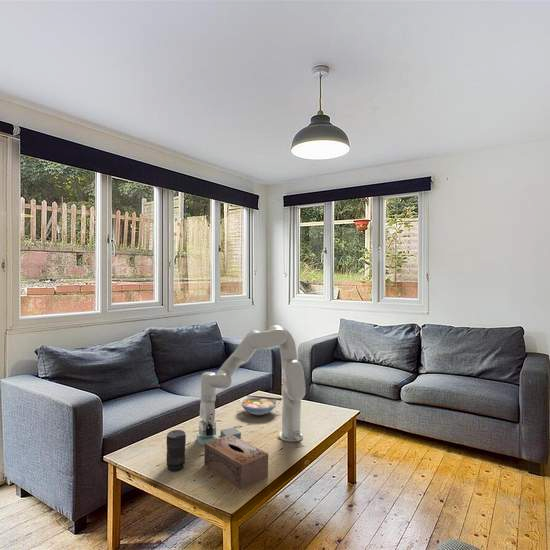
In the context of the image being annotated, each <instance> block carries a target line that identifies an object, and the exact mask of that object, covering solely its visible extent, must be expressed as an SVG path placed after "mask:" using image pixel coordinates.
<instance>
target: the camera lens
mask: <svg viewBox="0 0 550 550" xmlns="http://www.w3.org/2000/svg"><path fill="white" fill-rule="evenodd" d="M186 438H187V435H186V431H184V430H181V429H175V430H171V431H168V433H167V435H166V465H167V469H168V471H171V472H178V471H181V470H183V468H184V465H185V463H186V441H187V440H186Z"/></svg>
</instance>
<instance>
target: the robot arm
mask: <svg viewBox="0 0 550 550" xmlns="http://www.w3.org/2000/svg"><path fill="white" fill-rule="evenodd" d="M295 341H296V340H295V339H294V337H293V336H292V333H291V332H290V331H289V330H288V329H287V328H285V327H284V326H281V325H277V324H274V325H270V327H269V328H268V330H266V331H259V330H257V329H253V330H250V331H249V332H248V333H247V334H246V336H245V337H244V338H243V339H242V341H241V342H240V343H239V345H238V346H237V348H236V349H235V350H234V351H233V352H232V353H231V354H230V356H229V357H228V358H227V359H226V360H225V361H224V362H223V363H222V364H221V366H220V367H219V369H218V370H217V372H216V373H215V372H213V371H205V372H202V374H201V375H200V404H199V405H200V407H199V417H200V419H201V421H202V420H203V421H204V422H205V423H207V429H206V435H207V436H210V435H213V425H214V421H216V406H215V405H216V404H215V402H216V399H217V398H216V397H217V389H222V390H223V389H228V388H230V386H231V385H232V376H233V375H234V374H235V372H236V371H237V370H238V369H239V368H240V367H241V366H243V365H244V364H246V363H248V362H249V361H250V359H251V358H252V356H253V355H254V353H256V351H257V350H265V349H269V348H275V347H279V348H278V349H279V353H280V363H281V370H282V372H283V374H284V375H285V379H283V382H282V384H281V385H282V389H281V390H282V413H281V414H282V417H281V419H282V420H281V421H282V423H281V424H282V425H281V431H280V432H279V433H278V438H279V439H280V440H282V441H284V442H290V443H291V442H292V443H295V442H299V441H302V440H303V439H304V438H303V437H304V435H303V433H302V431H301V413H302V412H301V411H302V410H301V408H302V400H303V398H305V395H306V390H307V389H306V388H307V387H306V380H305V371H304V367H303V365H302V363H301V361H299V358H298V352H297V345H296V342H295ZM209 420H210V421H209ZM210 422H211V423H210ZM209 423H210V424H209Z"/></svg>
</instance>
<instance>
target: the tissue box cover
mask: <svg viewBox="0 0 550 550" xmlns="http://www.w3.org/2000/svg"><path fill="white" fill-rule="evenodd" d="M203 465H204V466H205V467H207V468H208V469H210V470H211V471H213V472H214V473H216V474H217V475H218V476H220V477H222V478H223V479H225V480H226V481H228V482H229V483H231V484H232V485H234V486H236V487H237V488H238V489H239V490H244V489H246V488H247V487H250V486H251V485H253V484H256V483H258V482H260V481H261V480H263V479H266V478H267V477H269V453H268V452H266V451H264V450H262V449H260V448H258V447H256V446H254V445H253V444H250V443H249V442H247V441H244V440H242V438H237V437H235V436H233V435H231V434H229V435H227V436H224V437H222V436H221V437H219V438H218V437H217V439H215V440H212V441H210V442H207V443H205V445H204V460H203Z"/></svg>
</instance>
